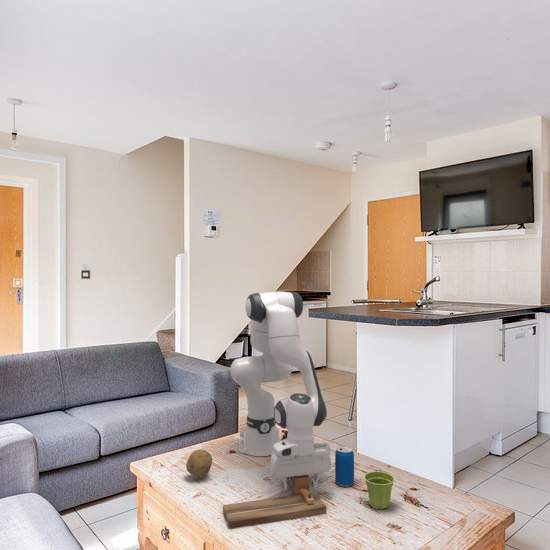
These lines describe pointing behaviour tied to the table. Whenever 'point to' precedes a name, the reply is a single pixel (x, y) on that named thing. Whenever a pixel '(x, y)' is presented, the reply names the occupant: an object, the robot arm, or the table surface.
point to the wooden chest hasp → (302, 487)
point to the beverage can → (344, 466)
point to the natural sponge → (199, 463)
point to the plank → (271, 510)
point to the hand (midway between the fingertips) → (300, 487)
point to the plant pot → (379, 488)
